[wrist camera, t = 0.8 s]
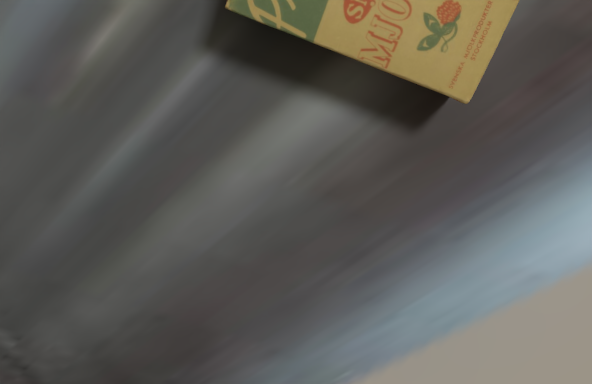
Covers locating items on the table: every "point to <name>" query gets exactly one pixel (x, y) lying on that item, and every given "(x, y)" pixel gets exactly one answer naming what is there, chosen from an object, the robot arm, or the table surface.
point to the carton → (398, 35)
